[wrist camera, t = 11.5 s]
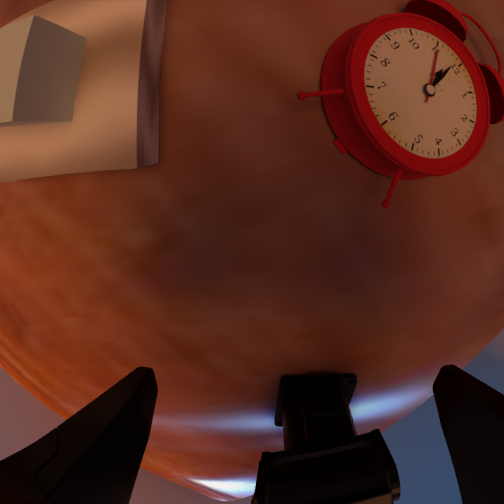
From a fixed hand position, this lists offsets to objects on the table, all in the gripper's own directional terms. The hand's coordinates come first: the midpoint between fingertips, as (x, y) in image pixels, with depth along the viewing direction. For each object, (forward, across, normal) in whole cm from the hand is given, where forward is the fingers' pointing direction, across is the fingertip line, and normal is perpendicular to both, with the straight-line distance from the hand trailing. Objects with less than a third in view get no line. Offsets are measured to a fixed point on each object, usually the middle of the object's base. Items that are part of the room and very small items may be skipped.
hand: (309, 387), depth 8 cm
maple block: (+12, +14, -11) cm, 22 cm away
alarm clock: (+12, -8, -12) cm, 19 cm away
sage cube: (+8, +14, -11) cm, 20 cm away
